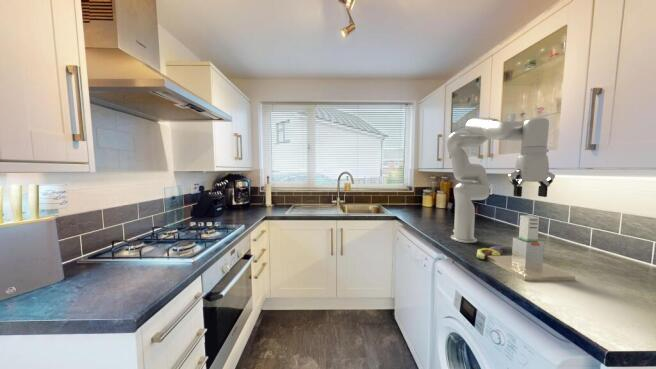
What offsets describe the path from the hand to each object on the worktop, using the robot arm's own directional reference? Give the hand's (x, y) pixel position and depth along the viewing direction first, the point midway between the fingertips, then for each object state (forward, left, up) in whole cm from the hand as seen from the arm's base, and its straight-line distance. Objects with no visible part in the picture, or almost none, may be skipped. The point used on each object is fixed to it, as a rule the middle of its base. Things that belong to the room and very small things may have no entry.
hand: (529, 196), depth 93 cm
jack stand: (0, 0, -29) cm, 29 cm away
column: (0, 0, -22) cm, 22 cm away
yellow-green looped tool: (-15, -2, -29) cm, 32 cm away
